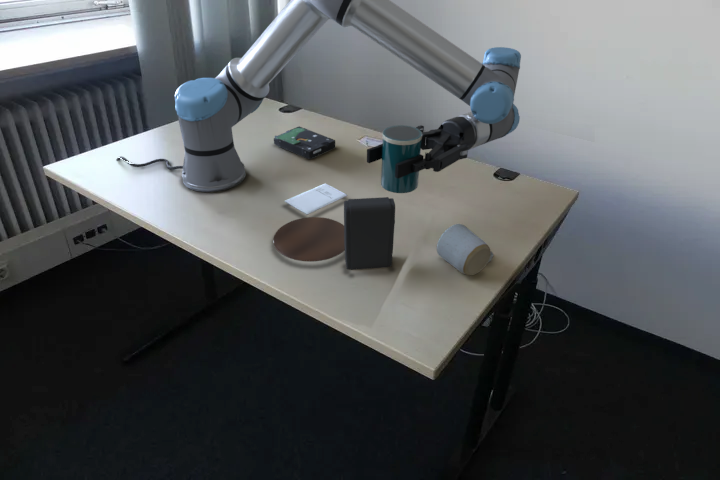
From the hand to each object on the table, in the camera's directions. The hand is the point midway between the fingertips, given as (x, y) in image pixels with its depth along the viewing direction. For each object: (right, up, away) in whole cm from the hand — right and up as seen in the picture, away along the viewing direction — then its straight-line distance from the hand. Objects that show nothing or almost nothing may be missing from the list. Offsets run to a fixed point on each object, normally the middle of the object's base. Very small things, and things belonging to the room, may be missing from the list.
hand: (382, 163), depth 98 cm
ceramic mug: (+17, -19, +5) cm, 26 cm away
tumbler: (+4, -3, +6) cm, 8 cm away
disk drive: (-20, +12, +48) cm, 53 cm away
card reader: (-3, -20, +3) cm, 20 cm away
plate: (-14, -15, +9) cm, 23 cm away
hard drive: (-14, -6, +23) cm, 28 cm away
